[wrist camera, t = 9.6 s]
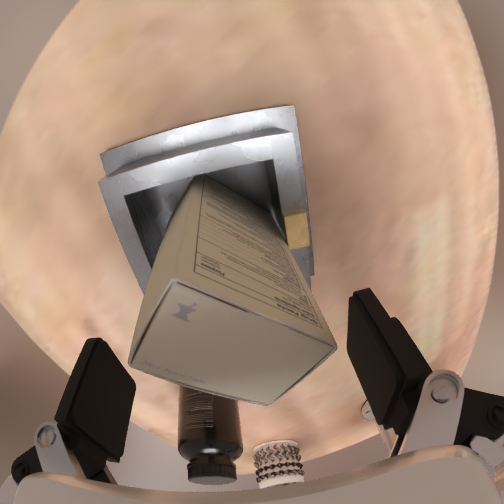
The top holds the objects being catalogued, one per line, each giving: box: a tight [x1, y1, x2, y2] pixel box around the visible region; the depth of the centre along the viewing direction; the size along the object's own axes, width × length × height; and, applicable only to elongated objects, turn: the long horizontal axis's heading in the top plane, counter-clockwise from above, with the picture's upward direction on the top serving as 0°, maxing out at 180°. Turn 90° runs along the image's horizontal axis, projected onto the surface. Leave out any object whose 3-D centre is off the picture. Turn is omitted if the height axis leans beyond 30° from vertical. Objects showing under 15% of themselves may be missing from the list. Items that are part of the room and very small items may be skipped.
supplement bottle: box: [178, 385, 243, 485], centre depth 25 cm, size 7×7×12 cm
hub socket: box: [98, 105, 314, 294], centre depth 17 cm, size 13×13×6 cm
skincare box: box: [128, 174, 337, 406], centre depth 14 cm, size 6×4×12 cm
